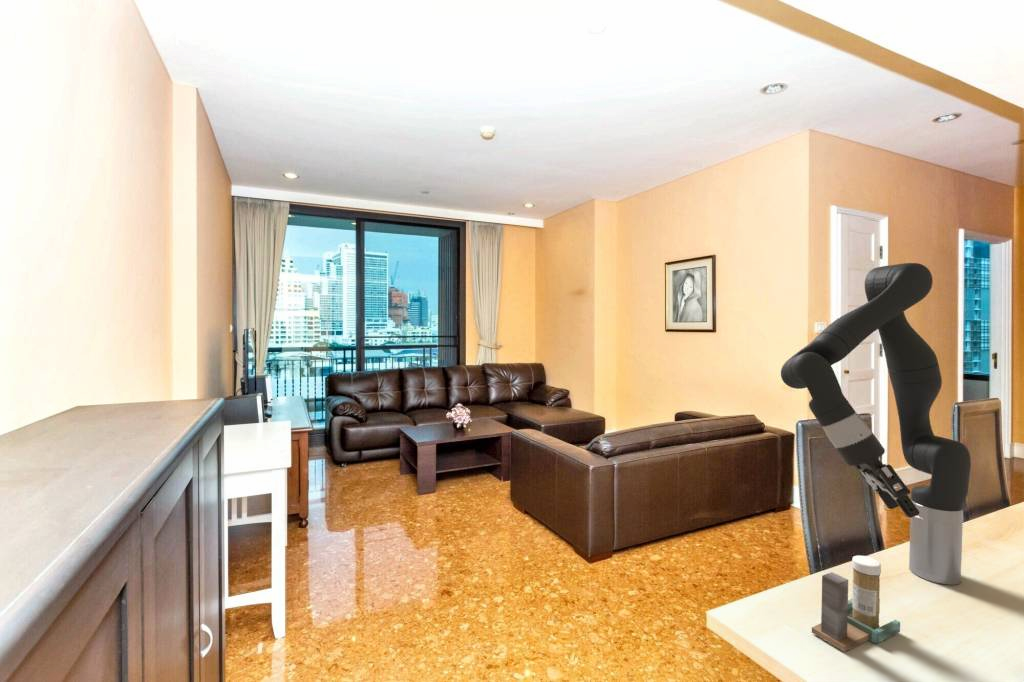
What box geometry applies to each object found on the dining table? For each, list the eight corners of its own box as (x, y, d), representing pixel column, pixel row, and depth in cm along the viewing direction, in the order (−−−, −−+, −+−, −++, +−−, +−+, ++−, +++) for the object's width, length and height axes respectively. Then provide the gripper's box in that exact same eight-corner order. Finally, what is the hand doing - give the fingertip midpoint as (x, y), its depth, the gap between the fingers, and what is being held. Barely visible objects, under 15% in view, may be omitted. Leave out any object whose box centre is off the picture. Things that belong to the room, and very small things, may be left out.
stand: (852, 607, 100) (853, 552, 99) (899, 631, 92) (901, 571, 91) (805, 628, 93) (806, 569, 93) (851, 656, 86) (853, 592, 85)
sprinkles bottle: (883, 627, 94) (884, 561, 93) (873, 636, 91) (875, 568, 91) (856, 615, 98) (858, 552, 97) (846, 623, 95) (848, 558, 95)
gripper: (884, 431, 92) (942, 510, 88) (857, 428, 106) (906, 497, 101) (846, 449, 94) (901, 527, 89) (824, 444, 107) (871, 512, 103)
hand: (903, 511), depth 95 cm, fingers open, 8 cm apart
